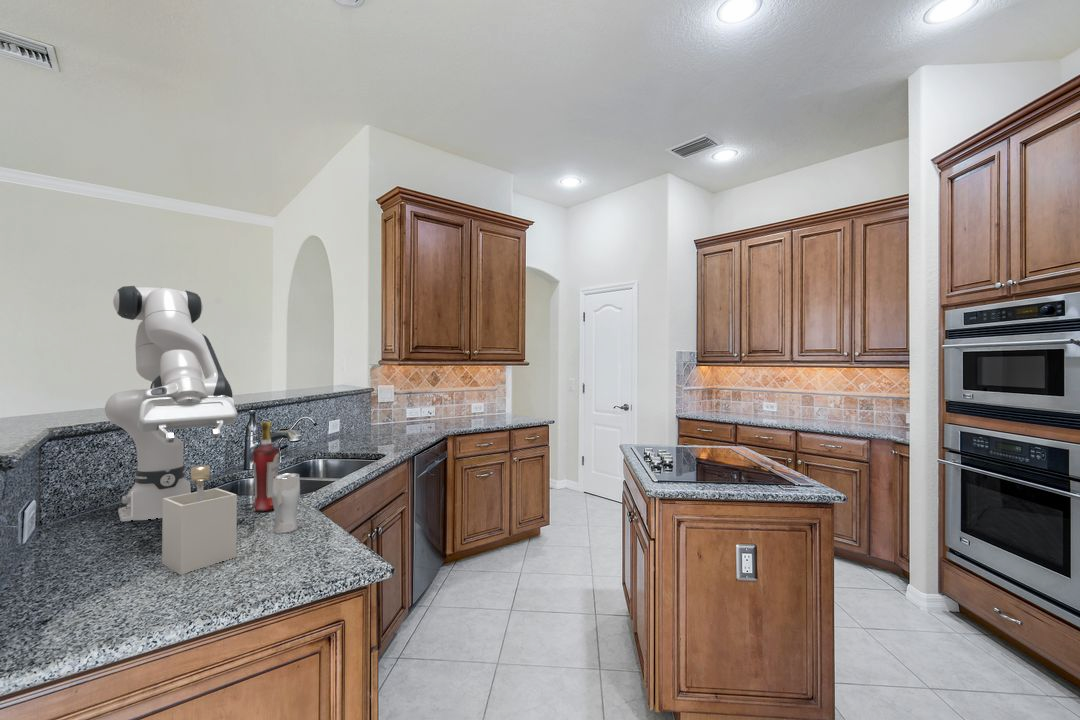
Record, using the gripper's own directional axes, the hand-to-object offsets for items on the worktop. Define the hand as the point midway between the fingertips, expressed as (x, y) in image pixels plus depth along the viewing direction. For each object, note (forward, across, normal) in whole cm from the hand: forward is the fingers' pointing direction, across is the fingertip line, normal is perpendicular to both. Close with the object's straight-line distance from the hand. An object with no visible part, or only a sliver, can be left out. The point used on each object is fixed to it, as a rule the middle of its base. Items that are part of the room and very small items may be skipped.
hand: (194, 438), depth 114 cm
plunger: (+24, 0, -12) cm, 27 cm away
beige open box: (+26, 0, -13) cm, 29 cm away
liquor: (+4, -23, -37) cm, 43 cm away
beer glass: (+21, -21, -19) cm, 35 cm away
